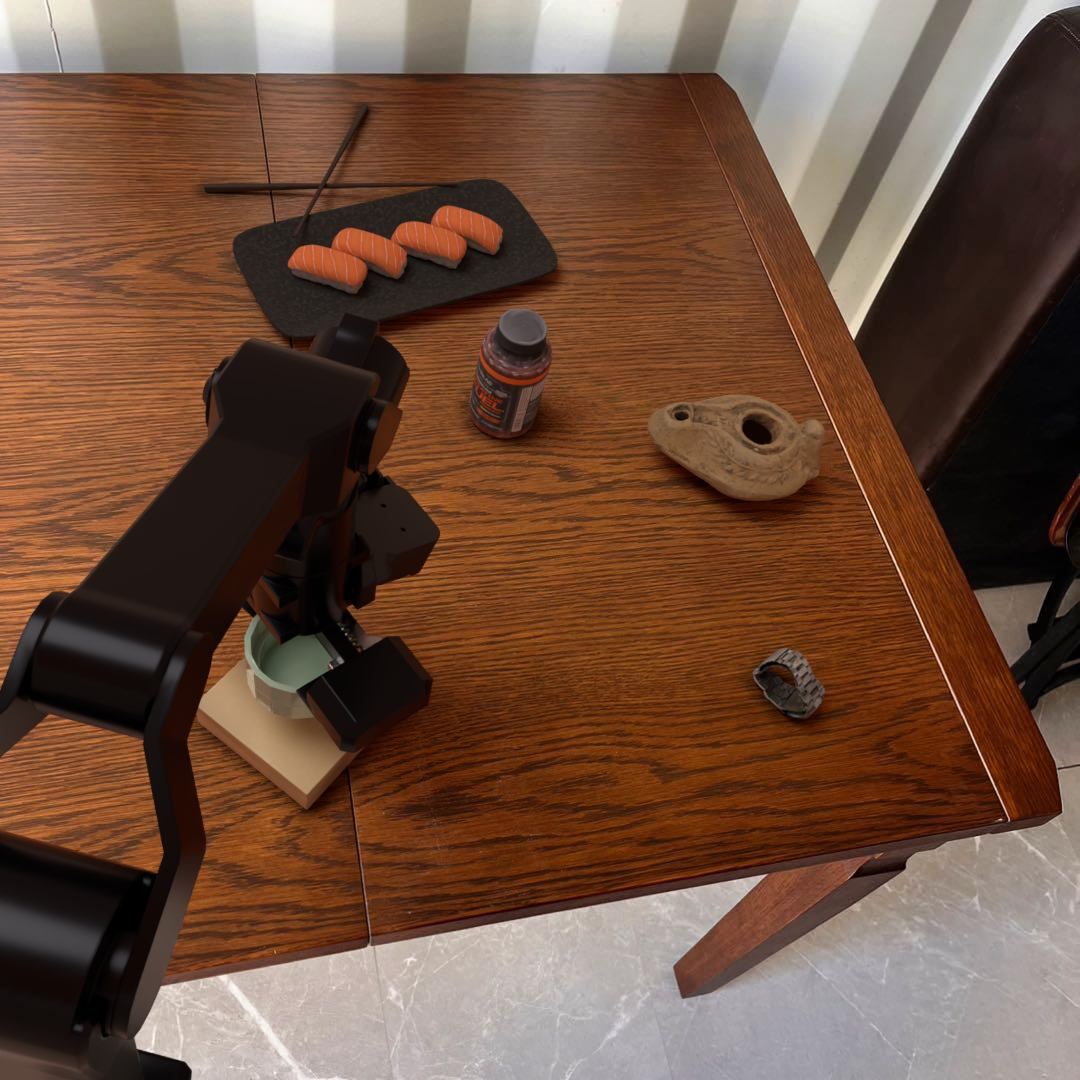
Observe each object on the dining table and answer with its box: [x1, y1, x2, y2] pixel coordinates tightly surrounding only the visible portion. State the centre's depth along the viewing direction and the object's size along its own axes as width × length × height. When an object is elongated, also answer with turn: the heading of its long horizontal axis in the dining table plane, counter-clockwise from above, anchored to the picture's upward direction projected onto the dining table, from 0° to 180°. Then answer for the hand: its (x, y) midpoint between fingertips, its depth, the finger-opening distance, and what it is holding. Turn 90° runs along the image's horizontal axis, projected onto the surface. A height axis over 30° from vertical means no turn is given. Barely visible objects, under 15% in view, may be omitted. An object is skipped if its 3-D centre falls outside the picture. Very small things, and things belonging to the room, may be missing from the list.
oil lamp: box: [646, 394, 826, 502], centre depth 93 cm, size 11×15×8 cm
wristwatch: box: [752, 647, 826, 720], centre depth 84 cm, size 3×5×5 cm
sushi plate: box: [203, 103, 559, 341], centre depth 105 cm, size 29×30×4 cm
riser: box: [196, 656, 365, 811], centre depth 76 cm, size 10×10×3 cm
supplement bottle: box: [468, 307, 553, 439], centre depth 91 cm, size 6×6×11 cm
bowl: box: [243, 615, 356, 719], centre depth 70 cm, size 7×7×4 cm
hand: (300, 664), depth 70 cm, fingers closed on bowl, 7 cm apart
